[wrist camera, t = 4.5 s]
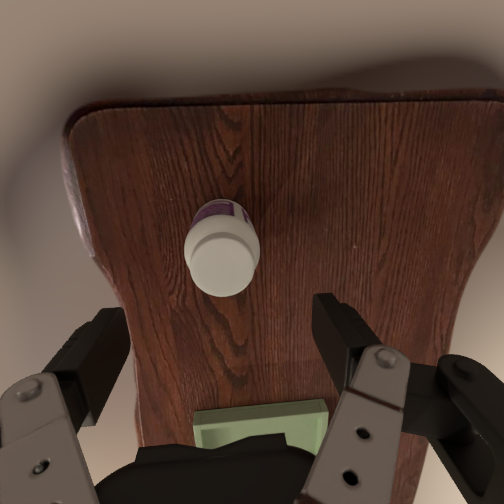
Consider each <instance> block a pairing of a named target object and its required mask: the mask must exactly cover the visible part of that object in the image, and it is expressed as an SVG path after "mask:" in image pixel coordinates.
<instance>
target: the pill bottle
mask: <svg viewBox="0 0 504 504" xmlns="http://www.w3.org/2000/svg"><path fill="white" fill-rule="evenodd" d="M184 254H185V260H186V263H187V265H188V267H189V269H190V272H191V276H192V279H193V281H194V282H195V284H196V285H197V286H198V287H199V288H200V289H201V290H202V291H204V292H206V293H208V294H210V295H213V296H219V297H225V296H231V295H234V294H237V293H239V292H240V291H242V290H243V289H244V288H245V287H246V286H247V285H248V284H249V283H250V281H251V280H252V277H253V274H254V270H255V268H256V266H257V264H258V261H259V256H260V246H259V241H258V237H257V235H256V233H255V230H254V227H253V225H252V222H251V220H250V218H249V216H248V214H247V212H246V211H245V210H244V209H243V208H242V207H241V206H240V205H239V204H237V203H236V202H234V201H231V200H227V199H217V200H213V201H210V202H208V203H206V204H205V205H203V206H202V207H201V208H200V209H199V210H198V212H197V213H196V215H195V217H194V220H193V222H192V225H191V227H190V230H189V233H188V235H187V237H186V240H185V246H184Z"/></svg>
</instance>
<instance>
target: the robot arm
mask: <svg viewBox="0 0 504 504" xmlns="http://www.w3.org/2000/svg"><path fill="white" fill-rule="evenodd" d="M312 334H313V338H314V341H315V343H316V345H317V347H318V349H319V352H320V354H321V356H322V358H323V360H324V363H325V365H326V367H327V369H328V371H329V374H330V376H331V378H332V380H333V382H334V385H335V387H336V389H337V391H338V393H339V396H340V399H339V402H338V404H337V407H336V409H335V412H334V414H333V416H332V419H331V421H330V424H329V426H328V429H327V431H326V433H325V436H324V438H323V441H322V443H321V446H320V448H319V450H318V453H317V455H314V454H313V453H311V452H309V451H306V450H304V449H302V448H298V447H295V446H290V445H287V442H286V437H285V432H283V433H274V434H264V435H255V436H248V437H246V438H243V439H240V440H237V441H235V442H232V443H229V444H226V445H224V446H221V447H218V448H215V449H205V448H199V447H193V446H187V445H181V444H168V445H158V446H148V447H139V448H138V452H137V455H136V459H135V462H133V463H130V464H128V465H126V466H124V467H122V468H120V469H118V470H116V471H115V472H113V473H111V474H110V475H109V476H107V477H106V478H104V479H103V480H102V481H100V482H99V483H98V484H97V485H96V486H94V485H93V482H92V479H91V476H90V473H89V470H88V467H87V464H86V461H85V458H84V455H83V453H82V450H81V447H80V444H79V441H78V438H77V433H78V431H79V429H80V427H86V426H95V425H96V423H97V421H98V418H99V416H100V414H101V412H102V410H103V408H104V406H105V404H106V402H107V399H108V397H109V395H110V393H111V391H112V389H113V387H114V384H115V382H116V380H117V378H118V376H119V374H120V372H121V370H122V367H123V365H124V363H125V361H126V359H127V356H128V355H129V352H130V345H131V342H130V335H129V331H128V326H127V322H126V317H125V313H124V310H123V308H122V307H116V308H103V309H101V310H100V311H99V312H98V314H97V315H96V316H95V318H94V319H93V320H92V321H90V322H87V323H85V324H84V325H82V326H81V327H79V328H78V329H76V330H75V332H74V333H73V334H72V335H71V337H70V338H69V340H68V341H66V343H65V344H64V345H63V346H62V348H61V349H60V350H59V351H58V352H57V354H56V355H55V356H54V357H53V358H52V360H51V361H50V362H49V363H48V364H47V366H46V367H45V368H44V370H43V371H42V372H41V373H38V374H34V375H31V376H29V377H26V378H24V379H22V380H20V381H18V382H16V383H15V384H13V385H12V386H11V387H9V388H8V389H7V390H6V391H5V392H4V393H3V395H2V396H1V398H0V504H390V497H391V491H392V485H393V478H394V472H395V465H396V459H397V453H398V446H399V440H400V434H401V432H406V433H411V434H416V435H421V436H426V438H427V439H428V441H429V442H430V444H431V446H432V447H433V449H434V450H435V452H436V454H437V455H438V457H439V458H440V460H441V462H442V463H443V464H444V466H445V468H446V470H447V471H448V473H449V474H450V476H451V477H452V479H453V481H454V482H455V484H456V485H457V487H458V489H459V491H460V492H461V494H462V495H463V497H464V499H465V500H466V502H467V503H468V504H504V383H503V382H502V381H500V380H499V379H498V378H497V377H496V376H495V375H494V374H493V373H492V372H491V371H490V370H488V369H487V368H486V367H485V366H484V365H482V364H481V363H478V362H477V361H475V360H473V359H470V358H468V357H464V356H461V355H455V354H454V355H453V354H448V355H443V356H441V357H440V358H439V360H438V364H437V367H436V366H430V365H423V364H416V363H411V362H410V361H409V359H408V358H407V357H406V355H404V354H403V353H402V352H401V351H399V350H397V349H395V348H393V347H390V346H386V345H383V344H382V343H381V341H380V340H379V339H378V337H377V336H376V335H375V334H374V332H373V331H372V330H371V329H370V327H369V326H368V325H366V322H365V321H364V320H363V319H362V318H361V316H360V315H359V314H358V312H357V311H356V310H355V309H354V308H352V307H351V306H349V305H347V304H346V303H341V304H340V303H339V302H338V300H337V299H336V297H335V296H334V295H333V293H320V294H314V295H313V305H312ZM480 435H481V436H480ZM484 440H485V441H486V442H485V441H484Z"/></svg>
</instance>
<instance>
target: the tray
mask: <svg viewBox="0 0 504 504" xmlns="http://www.w3.org/2000/svg"><path fill="white" fill-rule="evenodd" d="M328 414H329V411H328V409H327V406H326V404H325V401H324V399H314V400H304V401H294V402H284V403H274V404H264V405H254V406H244V407H234V408H224V409H214V410H204V411H195V413H194V423H193V428H194V435H195V443H196V447H199V448H205V449H215V448H218V447H221V446H224V445H226V444H229V443H232V442H235V441H237V440H240V439H243V438H246V437H248V436H255V435H264V434H274V433H283V432H285V437H286V442H287V445H290V446H295V447H298V448H302V449H304V450H306V451H309V452H311V453H313V454H314V455H317V453H318V450H319V448H320V446H321V443H322V441H323V438H324V436H325V433H326V431H327V426H328Z"/></svg>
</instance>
